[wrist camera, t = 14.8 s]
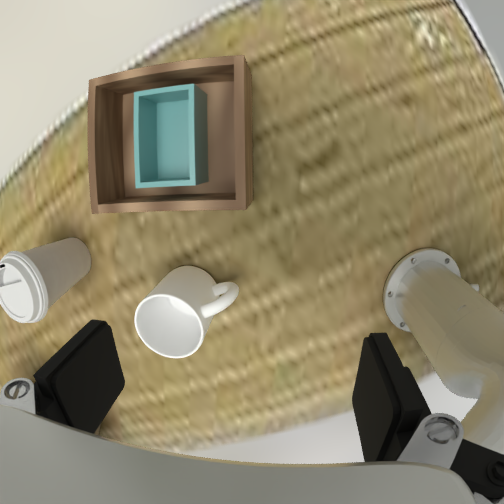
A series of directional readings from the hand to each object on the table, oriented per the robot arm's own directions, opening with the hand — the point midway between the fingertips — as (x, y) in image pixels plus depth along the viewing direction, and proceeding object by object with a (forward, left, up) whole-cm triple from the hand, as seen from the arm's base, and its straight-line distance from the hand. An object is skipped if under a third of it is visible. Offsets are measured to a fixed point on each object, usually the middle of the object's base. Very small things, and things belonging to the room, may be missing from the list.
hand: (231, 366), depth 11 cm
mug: (+9, +10, -31) cm, 33 cm away
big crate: (+11, -10, -30) cm, 34 cm away
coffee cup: (+30, +6, -31) cm, 43 cm away
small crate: (+11, -10, -29) cm, 33 cm away
